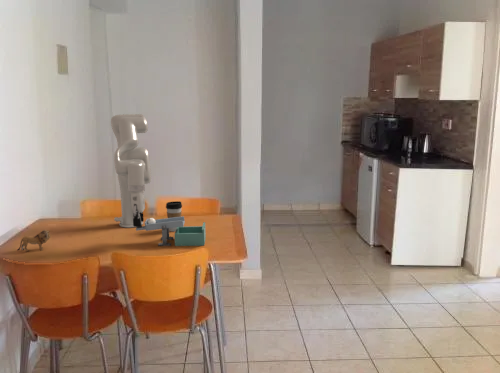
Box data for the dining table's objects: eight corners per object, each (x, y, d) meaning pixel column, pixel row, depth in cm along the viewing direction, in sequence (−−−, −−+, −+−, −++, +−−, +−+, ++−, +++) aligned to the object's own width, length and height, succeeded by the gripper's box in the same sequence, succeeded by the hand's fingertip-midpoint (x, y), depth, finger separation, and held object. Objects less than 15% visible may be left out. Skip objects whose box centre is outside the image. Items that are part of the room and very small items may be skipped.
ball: (147, 227, 228) (145, 219, 227) (148, 225, 232) (147, 217, 231) (155, 226, 228) (154, 218, 227) (157, 224, 232) (155, 216, 231)
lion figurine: (51, 246, 227) (49, 228, 225) (51, 249, 222) (49, 231, 220) (17, 249, 222) (15, 231, 220) (16, 253, 217) (14, 234, 215)
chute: (135, 232, 227) (132, 216, 225) (138, 227, 234) (135, 212, 232) (183, 226, 227) (181, 211, 225) (184, 222, 234) (182, 207, 232)
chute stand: (158, 246, 226) (157, 226, 224) (161, 238, 238) (160, 219, 236) (170, 246, 226) (169, 226, 224) (173, 238, 238) (172, 219, 236)
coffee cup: (179, 232, 247) (178, 204, 244) (164, 231, 248) (163, 203, 245) (185, 228, 255) (184, 200, 252) (170, 227, 257) (169, 200, 253)
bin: (174, 246, 226) (174, 229, 225) (177, 238, 238) (177, 222, 236) (204, 245, 227) (204, 229, 225) (205, 237, 239) (205, 222, 237)
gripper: (141, 192, 218) (143, 229, 221) (147, 184, 235) (149, 218, 238) (124, 192, 217) (126, 229, 221) (132, 184, 234) (134, 218, 238)
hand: (138, 223), depth 230 cm, fingers open, 7 cm apart
